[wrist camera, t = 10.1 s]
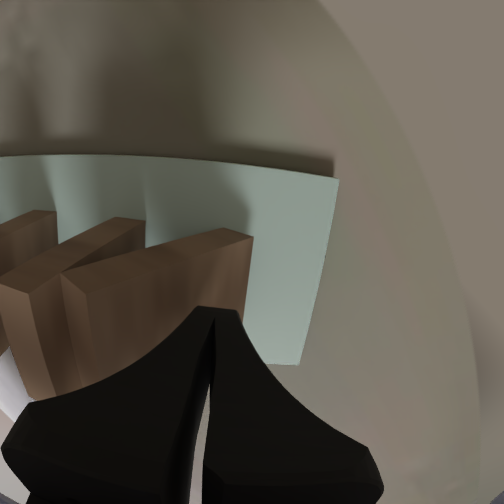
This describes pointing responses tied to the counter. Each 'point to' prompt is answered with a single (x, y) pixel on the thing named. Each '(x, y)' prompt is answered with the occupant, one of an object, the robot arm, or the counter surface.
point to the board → (197, 221)
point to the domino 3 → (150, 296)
